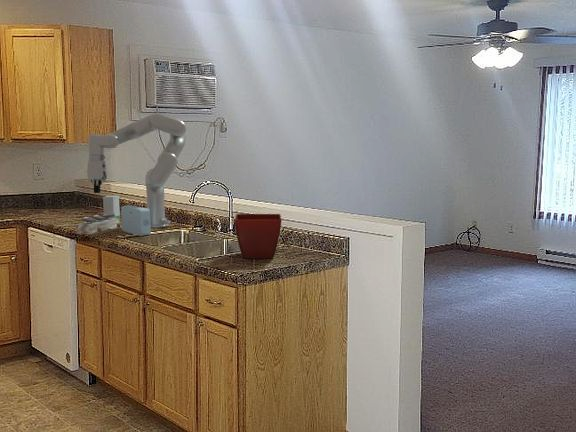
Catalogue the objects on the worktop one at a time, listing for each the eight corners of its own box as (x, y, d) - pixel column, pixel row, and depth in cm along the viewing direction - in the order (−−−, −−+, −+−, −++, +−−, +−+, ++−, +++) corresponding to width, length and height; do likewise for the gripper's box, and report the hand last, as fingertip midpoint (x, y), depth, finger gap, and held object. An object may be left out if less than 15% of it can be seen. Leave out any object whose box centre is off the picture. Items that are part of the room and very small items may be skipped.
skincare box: (114, 224, 386) (113, 196, 384) (103, 224, 387) (102, 196, 385) (120, 222, 394) (119, 195, 392) (109, 222, 396) (108, 195, 394)
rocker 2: (105, 221, 365) (106, 217, 364) (101, 221, 361) (101, 218, 361) (96, 218, 367) (96, 214, 367) (92, 219, 364) (92, 215, 363)
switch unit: (127, 227, 373) (127, 218, 373) (96, 235, 350) (95, 225, 349) (106, 226, 379) (106, 217, 378) (74, 233, 355) (73, 223, 355)
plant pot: (280, 251, 302) (280, 213, 300) (281, 260, 283) (281, 219, 281) (236, 252, 301) (236, 213, 299) (235, 260, 282) (234, 219, 280)
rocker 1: (95, 223, 357) (96, 219, 357) (91, 224, 354) (91, 220, 354) (86, 220, 360) (86, 216, 359) (81, 221, 356) (82, 217, 356)
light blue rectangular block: (120, 231, 364) (119, 205, 362) (130, 229, 367) (129, 205, 365) (140, 236, 345) (139, 210, 344) (150, 235, 349) (150, 209, 347)
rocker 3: (115, 217, 372) (114, 214, 372) (110, 218, 369) (110, 214, 368) (106, 218, 374) (105, 214, 374) (101, 218, 371) (101, 215, 371)
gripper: (112, 158, 364) (112, 193, 366) (90, 157, 371) (91, 191, 373) (102, 158, 357) (103, 194, 360) (80, 157, 364) (81, 192, 366)
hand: (97, 192), depth 366 cm, fingers closed
